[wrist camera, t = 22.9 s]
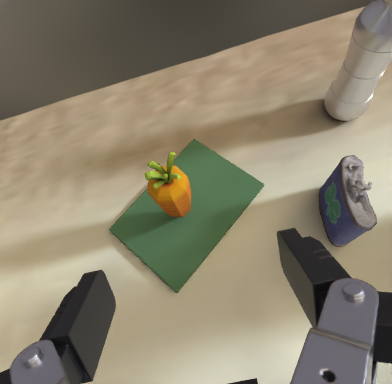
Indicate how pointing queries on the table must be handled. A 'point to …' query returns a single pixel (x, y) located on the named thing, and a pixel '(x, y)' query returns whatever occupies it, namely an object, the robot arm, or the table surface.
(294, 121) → the table surface
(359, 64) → the plastic bottle
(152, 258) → the green mat
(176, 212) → the carrot
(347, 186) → the flask
